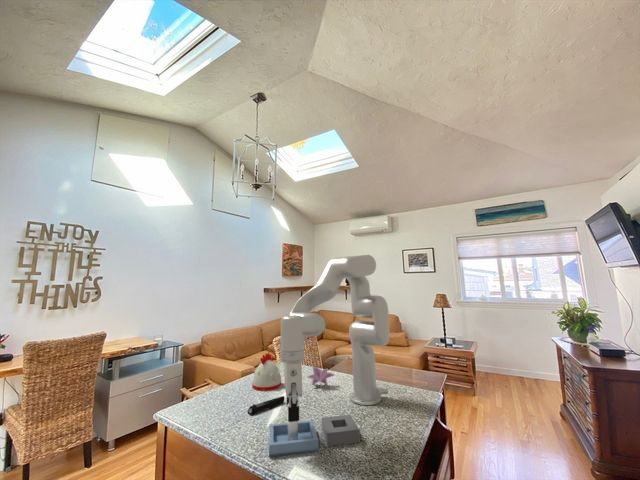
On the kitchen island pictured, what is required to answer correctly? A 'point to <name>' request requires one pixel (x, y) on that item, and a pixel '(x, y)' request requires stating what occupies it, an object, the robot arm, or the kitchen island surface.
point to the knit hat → (266, 375)
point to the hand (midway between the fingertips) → (292, 413)
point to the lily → (320, 375)
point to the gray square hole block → (340, 430)
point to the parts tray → (284, 447)
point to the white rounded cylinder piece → (292, 429)
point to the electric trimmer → (265, 405)
